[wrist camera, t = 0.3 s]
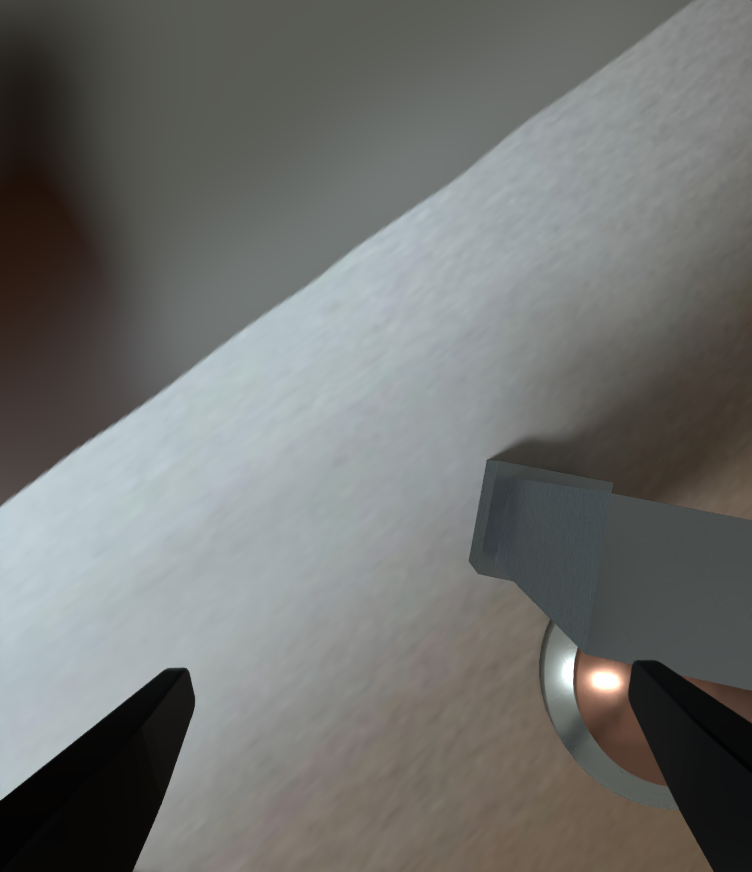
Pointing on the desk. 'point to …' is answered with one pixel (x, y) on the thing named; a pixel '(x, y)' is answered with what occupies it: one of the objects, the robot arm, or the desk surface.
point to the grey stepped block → (622, 570)
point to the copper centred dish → (610, 718)
